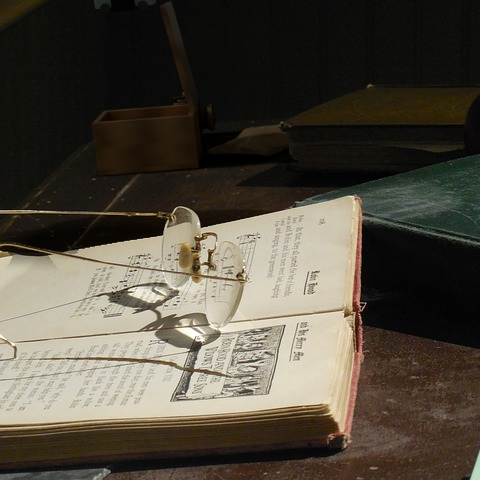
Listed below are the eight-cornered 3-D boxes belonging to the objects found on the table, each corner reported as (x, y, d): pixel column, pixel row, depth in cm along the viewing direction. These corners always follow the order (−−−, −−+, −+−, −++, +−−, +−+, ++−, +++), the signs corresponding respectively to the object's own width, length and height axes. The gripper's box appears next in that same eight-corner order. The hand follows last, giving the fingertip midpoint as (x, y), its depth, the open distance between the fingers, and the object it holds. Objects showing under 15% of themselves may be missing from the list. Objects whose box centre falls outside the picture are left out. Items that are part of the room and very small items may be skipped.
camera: (212, 151, 152) (207, 101, 149) (170, 154, 152) (164, 104, 149) (220, 132, 167) (216, 87, 165) (182, 134, 167) (177, 89, 165)
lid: (159, 6, 133) (165, 5, 133) (166, 2, 144) (171, 1, 144) (190, 113, 138) (195, 111, 138) (194, 101, 149) (199, 100, 149)
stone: (309, 143, 153) (307, 123, 152) (252, 163, 140) (251, 141, 139) (253, 140, 158) (252, 121, 157) (194, 159, 146) (192, 138, 145)
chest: (99, 175, 139) (91, 123, 137) (109, 159, 150) (103, 110, 148) (198, 168, 140) (193, 115, 138) (202, 152, 151) (197, 103, 149)
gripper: (91, -121, 137) (108, 8, 142) (70, -131, 121) (89, 15, 126) (143, -125, 137) (158, 5, 143) (129, -135, 121) (146, 11, 127)
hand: (126, 8), depth 134 cm, fingers closed on car, 4 cm apart
